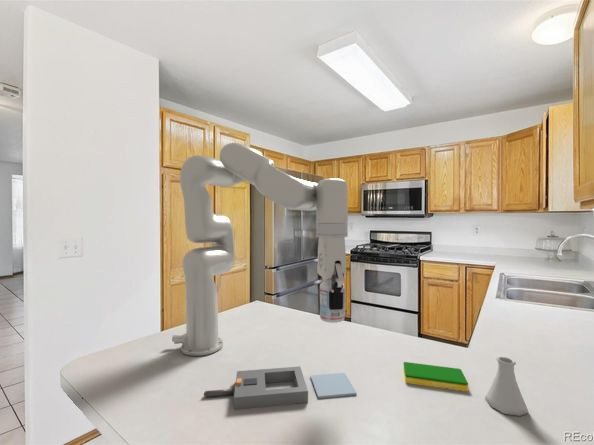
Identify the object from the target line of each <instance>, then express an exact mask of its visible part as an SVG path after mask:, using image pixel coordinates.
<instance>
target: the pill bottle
mask: <svg viewBox="0 0 594 445" xmlns="http://www.w3.org/2000/svg"><path fill="white" fill-rule="evenodd" d="M332 278H337V277H336V276H332ZM322 279H323V280H324V281H323V282H322V281H321V282H320V283H319V318H320V320H321V321H323V322H324V323H325V322H326V323H331V324H333V323H335V324H336V323H341V322H343V321H344V320H345V317H346V314H345V313H346V302H345V301H346V300H345V298H346V297H345V292H346V291H345V290H346V289H345V284H344V283H343V309H338V310H330V309H329V292H331V291H330V281H329V278H328V280H325V279H324V278H322ZM334 283H335V282H333V286H334Z"/></svg>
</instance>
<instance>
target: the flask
mask: <svg viewBox="0 0 594 445" xmlns="http://www.w3.org/2000/svg"><path fill="white" fill-rule="evenodd" d="M496 361H497V371H496V375H495V377H494V379H493V381H492V383H491V385H490V387H489V389H488V391H487V393H486V395H485V397H484V398H485V399H484V400H486V402H487V403H488V405H489V406H491V407H492V408H493V409H495V410H497V411H499V412H500V413H502V414H504V415H510V416H519V417H521V416H523V415H526V414H528V413H529V410H528V406H527V405H526V403H525V400H524V397H523V395H522V393H521V390H520V388H519V385H518V383H517V378H516V373H515V365H516V364H517V362H516V361H515V360H514V359H512V358H509V357H507V356H497V357H496Z"/></svg>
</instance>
